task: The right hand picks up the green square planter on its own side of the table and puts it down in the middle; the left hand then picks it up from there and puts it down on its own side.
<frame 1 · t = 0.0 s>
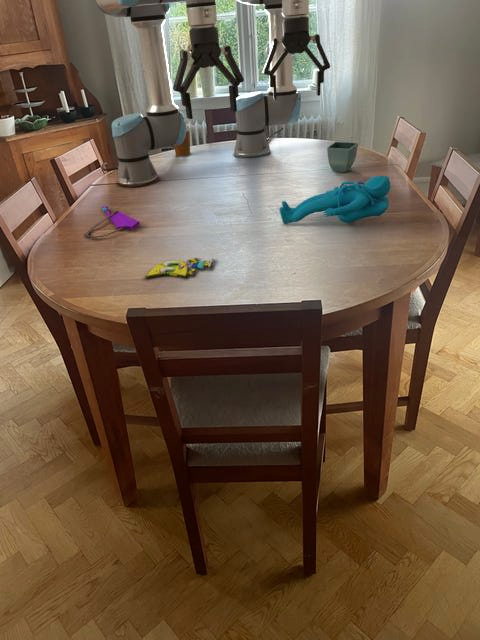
left hand: (212, 114, 136), 28 cm above the table, tool pointing down, fingers open, 13 cm apart
right hand: (296, 97, 150), 28 cm above the table, tool pointing down, fingers open, 13 cm apart
toy 2: (181, 269, 118), on the table
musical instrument: (107, 225, 147), on the table
green square planter: (341, 170, 176), on the table
toy: (332, 221, 136), on the table
beer glass: (183, 154, 214), on the table
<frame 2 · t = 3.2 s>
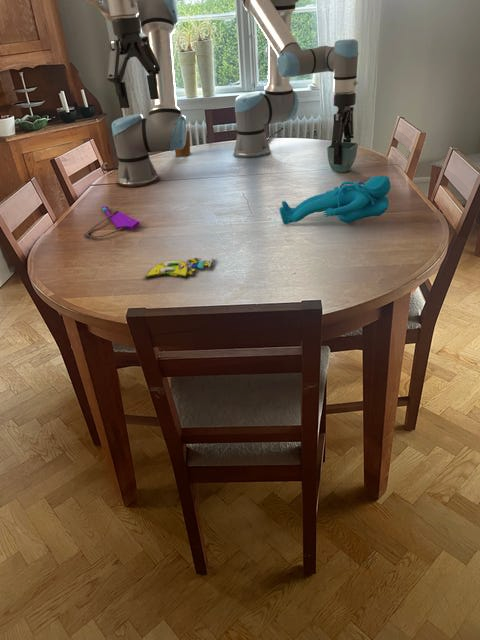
left hand: (140, 103, 140), 32 cm above the table, tool pointing down, fingers open, 13 cm apart
right hand: (342, 160, 174), 4 cm above the table, tool pointing down, fingers closed on green square planter, 9 cm apart
green square planter: (341, 170, 176), on the table, touching right hand
everything else where it was.
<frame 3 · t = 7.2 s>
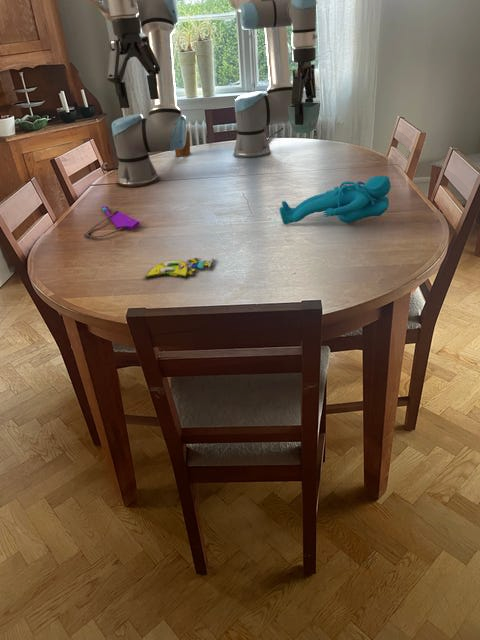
left hand: (140, 103, 140), 32 cm above the table, tool pointing down, fingers open, 13 cm apart
right hand: (304, 121, 167), 18 cm above the table, tool pointing down, fingers closed on green square planter, 9 cm apart
green square planter: (304, 132, 169), point 14 cm above the table, touching right hand
everything else where it was.
when the right hand's fingers open (5 cm above the table, at t = 11.5 s): green square planter drops 2 cm, on the table.
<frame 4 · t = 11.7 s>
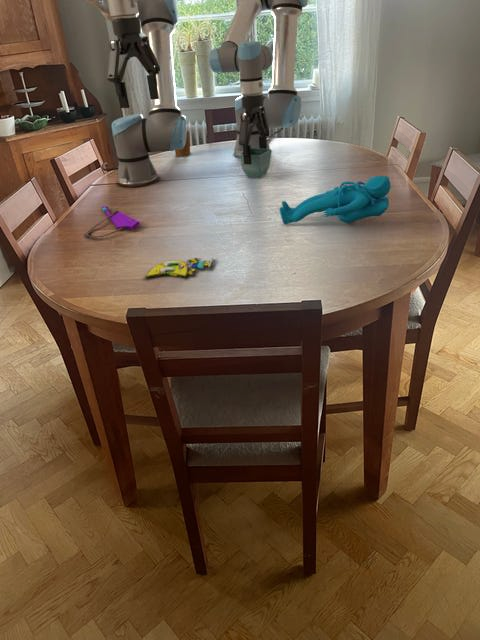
left hand: (140, 103, 140), 32 cm above the table, tool pointing down, fingers open, 13 cm apart
right hand: (255, 159, 175), 6 cm above the table, tool pointing down, fingers open, 11 cm apart
green square planter: (256, 176, 178), on the table
everything else where it was.
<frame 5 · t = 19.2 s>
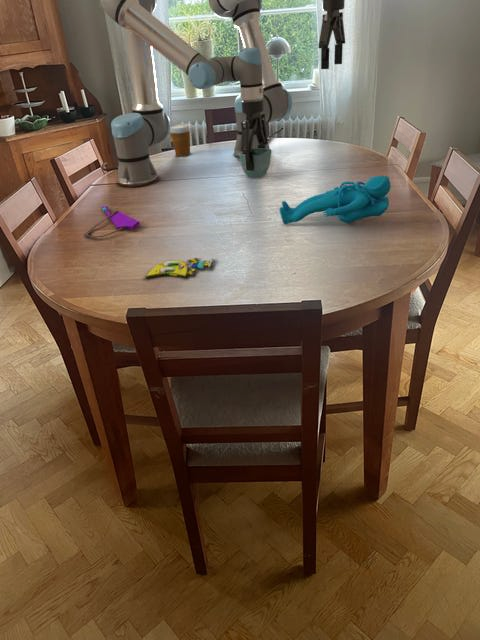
left hand: (256, 166, 176), 4 cm above the table, tool pointing down, fingers closed on green square planter, 9 cm apart
right hand: (331, 66, 175), 32 cm above the table, tool pointing down, fingers open, 13 cm apart
green square planter: (256, 176, 178), on the table, touching left hand
everything else where it was.
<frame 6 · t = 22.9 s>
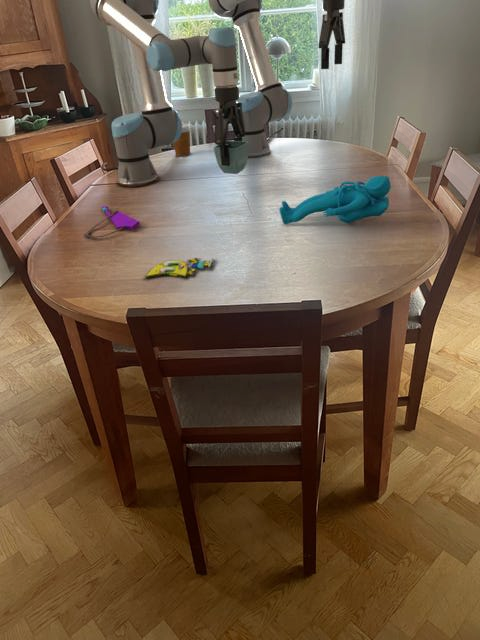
left hand: (232, 161, 159), 10 cm above the table, tool pointing down, fingers closed on green square planter, 9 cm apart
right hand: (331, 66, 175), 32 cm above the table, tool pointing down, fingers open, 13 cm apart
green square planter: (233, 171, 161), point 7 cm above the table, touching left hand
everything else where it was.
when the left hand's fingers open (5 cm above the table, at t = 27.1 s): green square planter drops 2 cm, on the table.
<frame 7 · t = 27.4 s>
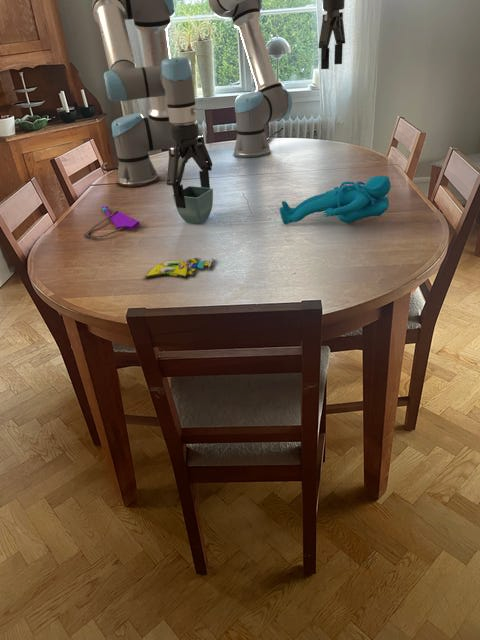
left hand: (194, 200, 141), 6 cm above the table, tool pointing down, fingers open, 12 cm apart
right hand: (331, 66, 175), 32 cm above the table, tool pointing down, fingers open, 13 cm apart
green square planter: (196, 220, 144), on the table
everything else where it was.
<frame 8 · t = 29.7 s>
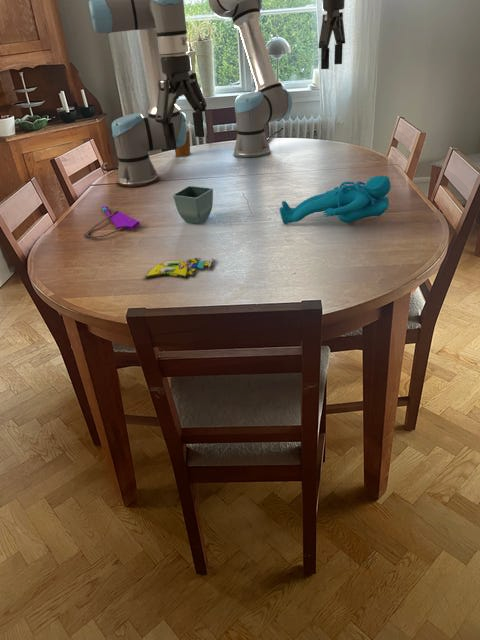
left hand: (186, 142, 132), 23 cm above the table, tool pointing down, fingers open, 13 cm apart
right hand: (331, 66, 175), 32 cm above the table, tool pointing down, fingers open, 13 cm apart
nothing on the table moved.
at the end: green square planter inside the target area (0.0 cm from its centre), on the table; green square planter tilted 0°; the two hands never held the green square planter at the same time; the left hand is holding nothing; the right hand is holding nothing; green square planter at rest at the end (0.0 cm/s) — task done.
